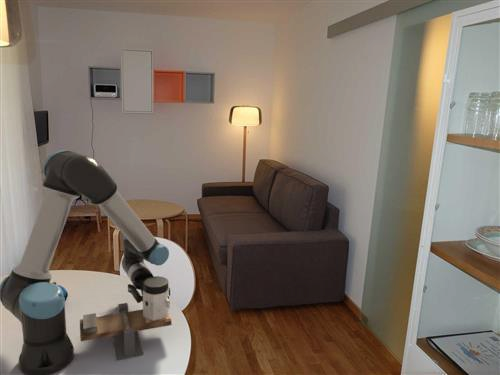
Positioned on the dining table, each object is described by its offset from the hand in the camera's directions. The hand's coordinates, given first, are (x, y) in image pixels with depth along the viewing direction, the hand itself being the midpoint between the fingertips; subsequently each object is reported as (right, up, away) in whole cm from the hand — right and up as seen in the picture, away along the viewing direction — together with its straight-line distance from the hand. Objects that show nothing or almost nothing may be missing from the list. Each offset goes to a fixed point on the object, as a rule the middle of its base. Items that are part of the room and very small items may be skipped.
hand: (161, 306), depth 132 cm
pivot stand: (-12, -13, +3) cm, 18 cm away
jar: (-3, -4, +6) cm, 8 cm away
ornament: (-45, -7, +22) cm, 50 cm away
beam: (-12, -6, +2) cm, 13 cm away
